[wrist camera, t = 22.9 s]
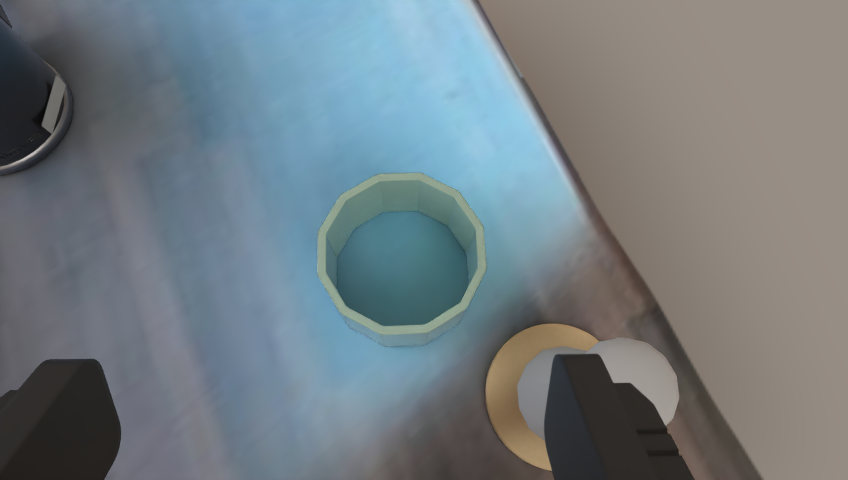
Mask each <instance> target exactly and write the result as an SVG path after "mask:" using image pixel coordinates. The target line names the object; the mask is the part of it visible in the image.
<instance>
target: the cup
mask: <svg viewBox="0 0 848 480" xmlns="http://www.w3.org/2000/svg"><path fill="white" fill-rule="evenodd" d="M402 211H418V212H420V213H422V214H424V215H426V216H428V217H430V218H432V219H434V220H436V221H438V222H440V223H442V224H444V225H446V226H448V227H449V229H450V230H451V232H452V233H453V235H454V236H455V238H456V239H457V241H458V242H459V244H460V245H461V246H462V248H463V249H464V251H465V252H466V255H467V269H468V284H469V286H468V288H467V290H466V292H465V294H464V296H463V298H462V300H461V302H460V303H458V304H457V305H455V306H454V307H452V308H450V309H449V310H447V311H446V312H444V313H443V314H441V315H439V316H438V317H436V318H435V319H433V320H432V321H430V322H428V323H427V324H424V325H399V326H382V325H380V324H378V323H377V322H375V321H373V320H371V319H369V318H367V317H365V316H363V315H361V314H360V313H358V312H356V311H354V310H352V309H350V308H348V307H347V306H346V305H345V303H344V301H343V300H342V298H341V296H340V295H339V293H338V291H337V258H338V256H339V254H340V252H341V251H342V249H343V247H344V246H345V244H346V242H347V241H348V239H349V237H350V236H351V234H352V232H353V230H354V229H355V228H357V227H359V226H361V225H362V224H364V223H366V222H367V221H369V220H371V219H373V218H374V217H376V216H378V215H379V214H381V213H383V212H402ZM486 268H487V265H486V252H485V239H484V227H483V225H482V223H481V222H480V221H479V219H478V218H477V216H476V215H475V213H474V212H473V211H472V209H471V208H470V206H469V205H468V203H467V202H466V201H465V199H464V198H463V196H462V195H461V193H460V192H458V191H457V190H455V189H453V188H451V187H449V186H447V185H445V184H443V183H441V182H439V181H437V180H435V179H433V178H431V177H429V176H427V175H425V174H422V173H390V174H377V175H375V176H373V177H371V178H370V179H368V180H366V181H364V182H362V183H361V184H359V185H357V186H355V187H354V188H352V189H350V190H348V191H347V192H345V193H343V194H341V196H339V198H338V199H337V201H336V203H335V204H334V206H333V208H332V209H331V211H330V213H329V214H328V216H327V217H326V219H325V221H324V222H323V224H322V226H321V227H320V229H319V231H318V256H317V274H318V277H319V279H320V280H321V282H322V284H323V285H324V287H325V289H326V290H327V292H328V294H329V295H330V297H331V299H332V301H333V302H334V304H335V306H336V307H337V309H338V311H339V312H340V314H341V315H342V317H343V319H344V320H345V322H346V323H347V325H348V326H349V328H350V329H352V330H354V331H356V332H358V333H360V334H361V335H363V336H365V337H367V338H369V339H371V340H373V341H375V342H377V343H378V344H380V345H382V346H385V347H395V346H420V345H427V344H428V343H430V342H431V341H433V340H434V339H436V338H437V337H439V336H441V335H442V334H444V333H445V332H447V331H448V330H450V329H451V328H453V327H455V326H456V325H458V324H459V323H460V321H461V319H462V317H463V315H464V313H465V311H466V309H467V307H468V305H469V303H470V301H471V299H472V297H473V295H474V293H475V292H476V290H477V288H478V286H479V284H480V282H481V280H482V278H483V276H484V274H485V272H486Z"/></svg>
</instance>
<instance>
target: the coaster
mask: <svg viewBox="0 0 848 480" xmlns="http://www.w3.org/2000/svg"><path fill="white" fill-rule="evenodd" d="M598 342H600V341H599V340H597V339H596V338H595V337H593V336H592V335H590V334H588V333H587V332H585V331H583V330H580V329H578V328H575V327H572V326H568V325H563V324H541V325H537V326H533V327H530V328H528V329H525V330H523V331H521V332H519V333H518V334H516V335H515V336H513V337H512V338H511V339H509V340H508V341H507V342H506V343H505V344H504V345H503V346H502V347H501V349H500V350H499V351H498V353H497V354H496V356H495V357H494V359H493V361H492V363H491V366H490V368H489V371H488V375H487V379H486V386H485V400H486V407H487V411H488V415H489V418H490V421H491V423H492V426H493V428H494V430H495V432H496V433H497V435H498V437H499V438H500V439H501V441H502V442H503V443H504V444H505V446H506V447H507V448H508V449H509V450H510V451H511V452H512V453H514V454H515V455H516V456H517V457H519V458H520V459H522V460H523V461H525V462H527V463H529V464H531V465H533V466H535V467H538V468H542V469H545V470H549V471H552V469H551V465H550V462H549V458H548V454H547V450H546V444H545V441H544V440H543V439H542V438H540V437H539V436H538V435H536V434H535V433H534V432H533V431H531V430H530V429H529V427H528V425H527V423H526V421H525V419H524V417H523V415H522V413H521V411H520V409H519V402H518V389H517V385H518V382H519V380H520V378H521V376H522V373H523V371H524V369H525V366H526V364H528V363H529V362H530V361H531V360H532V359H533V358H534V357H535V356H536V355H537V354H539V353H540V352H541V351H542V350H546V349H551V348H555V347H560V346H566V347H571V348H576V349H581V350H586V351H588V350H590V349H591V348H592V347H593V346H594V345H595V344H597V343H598Z"/></svg>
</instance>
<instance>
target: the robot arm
mask: <svg viewBox="0 0 848 480" xmlns="http://www.w3.org/2000/svg"><path fill="white" fill-rule="evenodd" d="M72 113H73V99H72V94H71V91H70V89H69V86H68V84H67V83H66V81H65V80H64V79H63V77H62V76H61V75H60V74H59V73H58V72H57V71H56V70H55V69H54V68H53V67H52V66H51V65H49V64H48V63H47V62H45V61H44V60H43V59H42V58H41V57H40V56H39V55H38V54H37V53H36V52H35V51H34V50H33V49H32V48H31V47H30V46H29V45H28V44H27V43H26V42H25V41H24V40H23V39H22V38H21V37H20V36H19V35H18V34H17V33H16V32H15V31H14V30H13V29H12V26H11V24H10V22H9V20H8V18H7V16H6V14H5V12H4V10H3V8H2V6H1V5H0V175H5V174H10V173H14V172H17V171H20V170H23V169H25V168H27V167H30V166H31V165H33V164H35V163H37V162H38V161H40V160H41V159H43V158H44V157H45V156H47V155H48V154H49V153H50V152H51V151H52V150H53V149H54V148H55V147H56V146H57V145H58V144H59V142H60V141H61V140H62V138H63V137H64V135H65V133H66V131H67V130H68V127H69V125H70V122H71V118H72ZM544 435H545V444H546V450H547V454H548V458H549V462H550V465H551V469H552V472H553V476H554V479H555V480H694V478H693V476H692V474H691V472H690V470H689V469H688V467H687V465H686V463H685V461H684V459H683V457H682V456H679V452H678V451H679V450H678V448H677V446H676V444H675V442H674V441H673V439H672V437H671V435H670V434H668V433H667V428H666V426H665V424H664V422H663V420H662V418H661V416H660V415H659V413H658V411H657V409H656V407H655V405H654V404H653V403H652V402H651V401H650V400H649V399H648V398H647V397H646V396H645V395H643V394H642V393H641V392H640V391H639V390H638V389H637V388H636V387H635V386H634V385H633V384H631V383H613V381H612V379H611V376H610V374H609V372H608V370H607V368H606V366H605V364H604V362H603V360H602V358H601V356H600V355H598V354H556V355H555V356H554V358H553V362H552V368H551V375H550V382H549V389H548V396H547V403H546V410H545V417H544ZM120 440H121V426H120V421H119V418H118V415H117V412H116V409H115V406H114V403H113V400H112V396H111V393H110V390H109V387H108V384H107V381H106V378H105V375H104V372H103V369H102V366H101V365H100V363H99V362H98V361H97V360H95V359H50V360H46V361H44V362H42V363H41V364H40V365H39V366H38V367H37V368H36V369H35V371H34V372H33V373H32V374H31V375H30V376H29V378H28V379H27V380H26V381H25V382H24V383H23V385H22V386H21V387H20V388H19V389H18V390H10V391H9V392H7V393H6V394H5V395H3V396H2V397H0V480H104V479H105V477H106V475H107V473H108V471H109V470H110V468H111V466H112V464H113V462H114V460H115V458H116V456H117V453H118V450H119V446H120Z"/></svg>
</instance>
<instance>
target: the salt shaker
mask: <svg viewBox="0 0 848 480" xmlns="http://www.w3.org/2000/svg"><path fill="white" fill-rule="evenodd" d="M556 354H598V355H600V356H601V358H602V360H603V362H604V364H605V366H606V368H607V370H608V372H609V374H610V376H611V379H612V381H613V383H631V384H633V385H634V386H635V387H636V388H637V389H638V390H639V391H640V392H641V393H642V394H643V395H645V396H646V397H647V398H648V399H649V400H650V401H651V402H652V403H653V404H654V405H655V407H656V409H657V411H658V413H659V415H660V416H661V418H662V420H663V422H664V424H665V426H666V425H667V424H668V423H669V422H670V421H671V420H672V419H673V417H674V414H675V411H676V407H677V404H678V401H679V391H678V384H677V376H676V374H675V372H674V371H673V369H672V367H671V366H670V364H669V363H668V361H667V359H666V358H665V356H664V355H662V354H661V353H660V352H658V351H657V350H656V349H654V348H653V347H652V346H650V345H649V344H648V343H646V342H642V341H638V340H633V339H628V338H621V337H619V338H614V339H610V340H606V341H601V342H598V343H597V344H595V345H594V346H593V347H592V348H591V349H590V350H588V351H586V350H581V349H576V348H571V347H566V346H560V347H555V348H551V349H546V350H542V351H541V352H540V353H539V354H537V355H536V356H535V357H534V358H533V359H532V360H531V361H530V362H529V363H528V364H526V366H525V369H524V371H523V373H522V376H521V378H520V380H519V382H518V385H517V389H518V402H519V409H520V411H521V413H522V415H523V417H524V419H525V421H526V423H527V425H528V427H529V429H530V430H531V431H533V432H534V433H535V434H536V435H538V436H539V437H540V438H542V439H543V440H544V441H545V435H544V417H545V410H546V403H547V396H548V389H549V382H550V375H551V368H552V362H553V358H554V356H555V355H556Z"/></svg>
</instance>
